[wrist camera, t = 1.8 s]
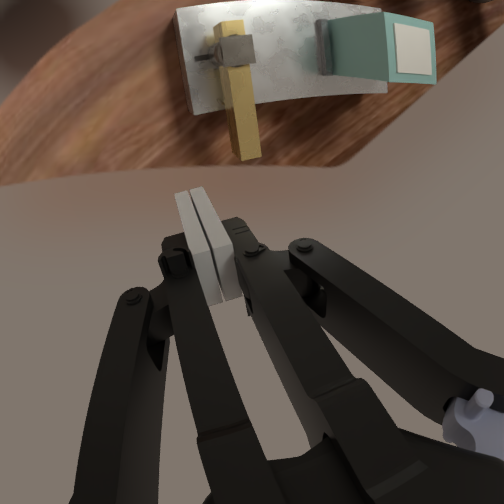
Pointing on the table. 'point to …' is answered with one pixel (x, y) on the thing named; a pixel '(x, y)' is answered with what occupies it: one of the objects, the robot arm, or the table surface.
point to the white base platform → (267, 50)
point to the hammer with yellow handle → (237, 85)
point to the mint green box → (383, 48)
